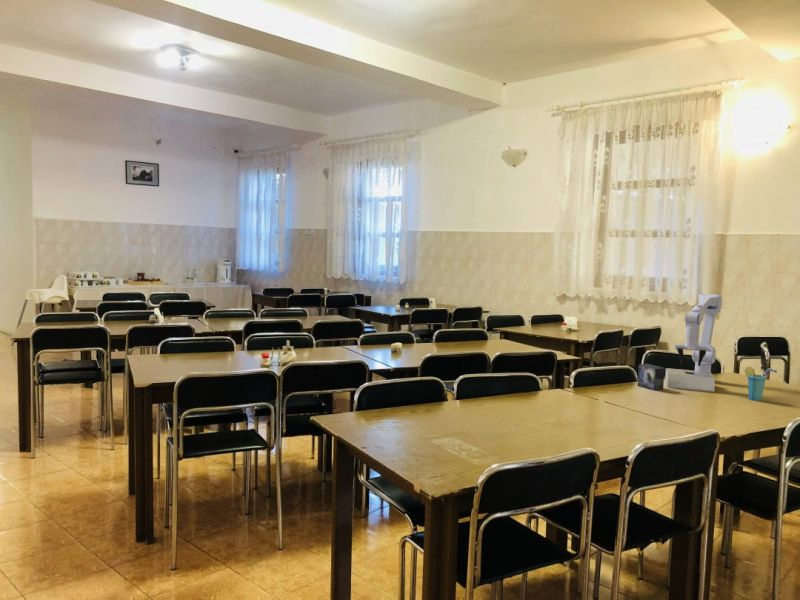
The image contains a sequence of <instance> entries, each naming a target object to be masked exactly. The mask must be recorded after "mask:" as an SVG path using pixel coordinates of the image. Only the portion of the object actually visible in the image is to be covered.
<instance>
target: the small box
mask: <svg viewBox="0 0 800 600" xmlns="http://www.w3.org/2000/svg"><path fill="white" fill-rule="evenodd" d="M665 371H666V368H665V367H662V366H659V365H654V364H649V363H642V364H638V370H637V383H636V385H637V387H640V388H644V389H648V390H651V391H663V390H664V382H665Z"/></svg>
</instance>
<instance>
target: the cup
mask: <svg viewBox="0 0 800 600" xmlns="http://www.w3.org/2000/svg"><path fill="white" fill-rule="evenodd" d="M769 371H770V372H773V373H777V371H778V370H776V369H772V368H770V367H769V368H767V369H765V372H764V374H756V371H755V368H753V367H752V366H748V367H745V370H744V373H745V376H746V377H747V379H748V380H747V381H748V382H747V385H748V400H750V401H755V402H762V400H763V395H764V389H765V384H766V380H767V373H768V372H769Z"/></svg>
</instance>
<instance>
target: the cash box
mask: <svg viewBox="0 0 800 600" xmlns="http://www.w3.org/2000/svg"><path fill="white" fill-rule="evenodd" d="M665 381H666V382H665ZM664 382H665V384H667V385H666V387H667V388H669V387H670V388H671V389H681V390H691V391H701V392H710V393H711V392H712V393H714V392H715V383H716V378H715V376H714V375H713V373H712V372H703V371H695V370H691V369H690V370H689V369H679V368H677V369H676V368H669V367H667V368H665V374H664ZM670 388H669V389H670Z"/></svg>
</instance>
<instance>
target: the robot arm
mask: <svg viewBox="0 0 800 600" xmlns="http://www.w3.org/2000/svg"><path fill="white" fill-rule="evenodd" d="M722 297H723V296H722V295H721V294H713V293H712V294H711V293H700V294H699V295H698V301H697V303H698V304H696V305H695V306H694V307H693V308H692V309H691V311H688V312H687V313H686V314H685V316H684V317H685V318H684V322H685V328H686V331H685V343H684V344H674V349H675V350H677V351H676V352H677V353H678V356H679V361H680V362H679V363H680V366H682V365H684V364H683V363H684V362H683V359H684V358H683V357H684V350H685V351H692V352H691V353H692V354H691V359H692V361H693V362H694V363H695V364H694V365H695V366H694V371H703V372H711V370H712V364H714V363H715V361H716V356H717V355H716V353H717V351H716V348H715V347H714V346H712V337H713V334H714V333H713V332H714V327H715V321H716V315H717V313H719V312H721V309H722V305H723V303H722V302H723V298H722ZM703 318H704V320H703ZM702 323H703V326H702V331H701V338H700V327H701V325H702ZM699 340H700V342H699ZM711 373H712V372H711Z"/></svg>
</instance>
